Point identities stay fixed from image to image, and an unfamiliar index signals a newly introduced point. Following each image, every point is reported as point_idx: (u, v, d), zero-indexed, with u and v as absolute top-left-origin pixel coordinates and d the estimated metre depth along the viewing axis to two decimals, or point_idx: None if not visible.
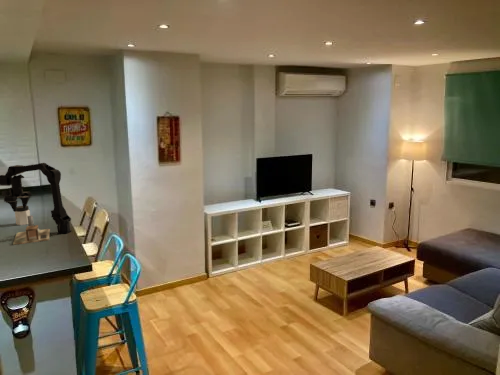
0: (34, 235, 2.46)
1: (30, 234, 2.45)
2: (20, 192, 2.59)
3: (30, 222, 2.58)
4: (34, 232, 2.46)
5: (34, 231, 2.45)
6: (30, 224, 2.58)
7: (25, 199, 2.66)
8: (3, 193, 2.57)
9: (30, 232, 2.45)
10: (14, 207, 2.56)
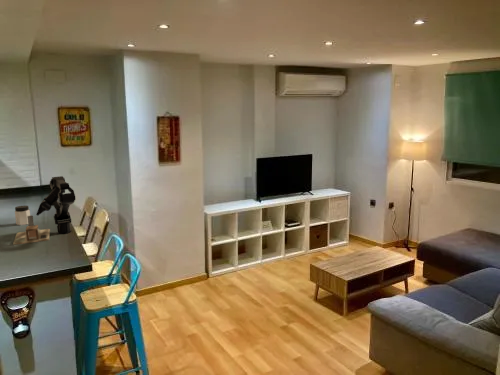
0: (34, 235, 2.46)
1: (30, 234, 2.45)
2: None
3: (30, 222, 2.58)
4: (34, 232, 2.46)
5: (34, 231, 2.45)
6: (30, 224, 2.58)
7: None
8: None
9: (30, 232, 2.45)
10: None
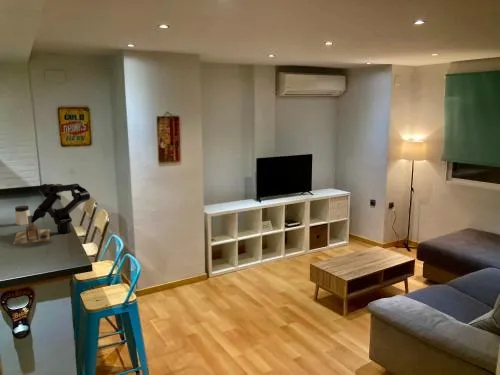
0: (34, 235, 2.46)
1: (30, 234, 2.45)
2: None
3: (30, 222, 2.58)
4: (34, 232, 2.46)
5: (34, 231, 2.45)
6: (30, 224, 2.58)
7: None
8: None
9: (30, 232, 2.45)
10: None
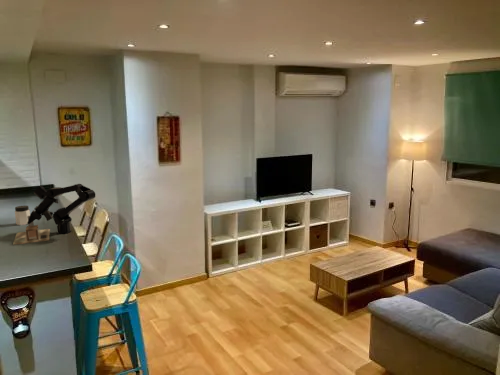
0: (34, 235, 2.46)
1: (30, 234, 2.45)
2: None
3: None
4: (34, 232, 2.46)
5: (34, 231, 2.45)
6: (30, 224, 2.58)
7: None
8: None
9: (30, 232, 2.45)
10: None
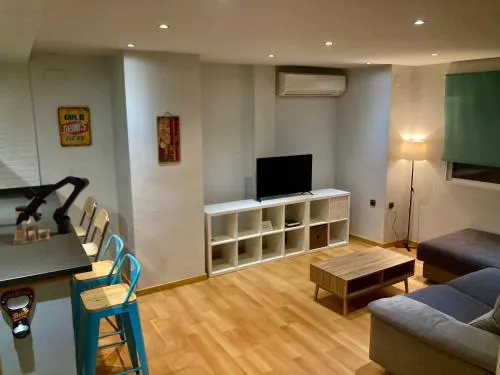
0: (22, 237, 2.43)
1: (18, 236, 2.42)
2: None
3: None
4: (22, 233, 2.43)
5: (22, 232, 2.43)
6: (18, 225, 2.56)
7: None
8: None
9: (18, 233, 2.42)
10: None
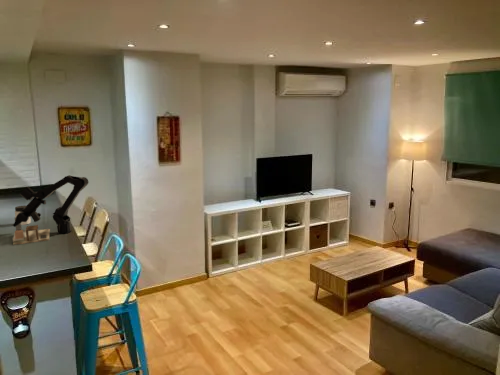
0: (21, 237, 2.43)
1: (16, 236, 2.42)
2: None
3: None
4: (21, 234, 2.43)
5: (21, 233, 2.43)
6: (17, 225, 2.55)
7: None
8: None
9: (16, 234, 2.42)
10: None
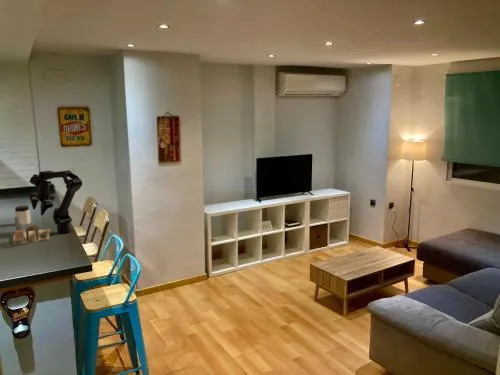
0: (21, 237, 2.43)
1: (16, 236, 2.42)
2: (37, 195, 2.62)
3: (17, 223, 2.55)
4: (21, 234, 2.43)
5: (21, 233, 2.43)
6: (17, 225, 2.55)
7: None
8: None
9: (16, 234, 2.42)
10: None
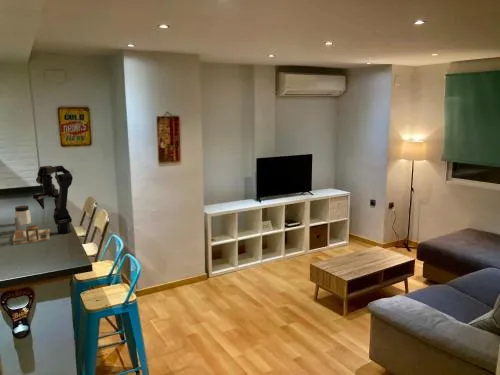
0: (21, 237, 2.43)
1: (16, 236, 2.42)
2: (44, 192, 2.66)
3: (17, 223, 2.55)
4: (21, 234, 2.43)
5: (21, 233, 2.43)
6: (17, 225, 2.55)
7: None
8: None
9: (16, 234, 2.42)
10: None
